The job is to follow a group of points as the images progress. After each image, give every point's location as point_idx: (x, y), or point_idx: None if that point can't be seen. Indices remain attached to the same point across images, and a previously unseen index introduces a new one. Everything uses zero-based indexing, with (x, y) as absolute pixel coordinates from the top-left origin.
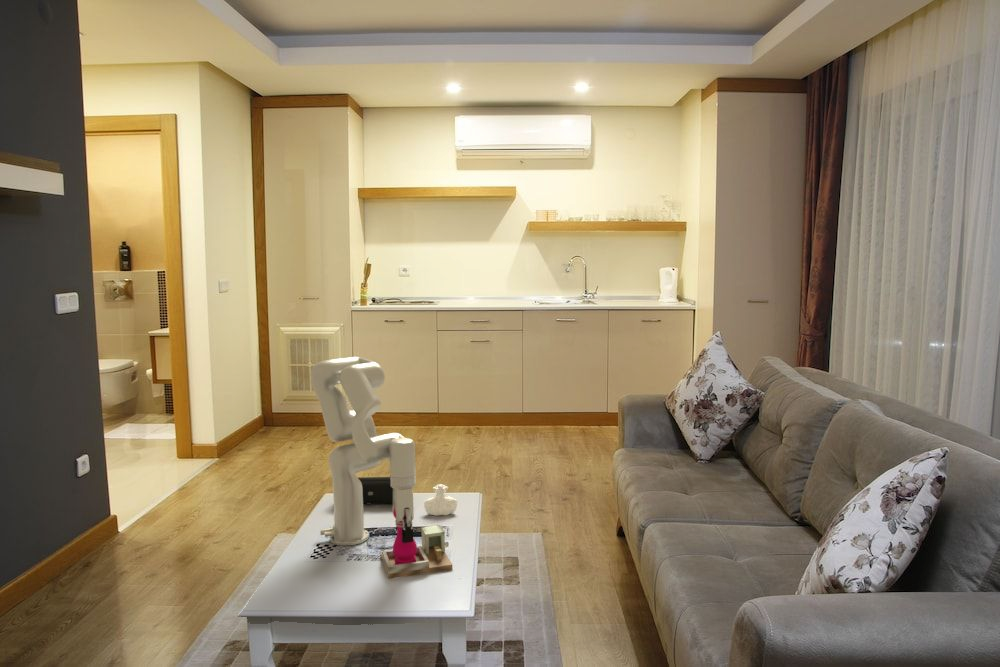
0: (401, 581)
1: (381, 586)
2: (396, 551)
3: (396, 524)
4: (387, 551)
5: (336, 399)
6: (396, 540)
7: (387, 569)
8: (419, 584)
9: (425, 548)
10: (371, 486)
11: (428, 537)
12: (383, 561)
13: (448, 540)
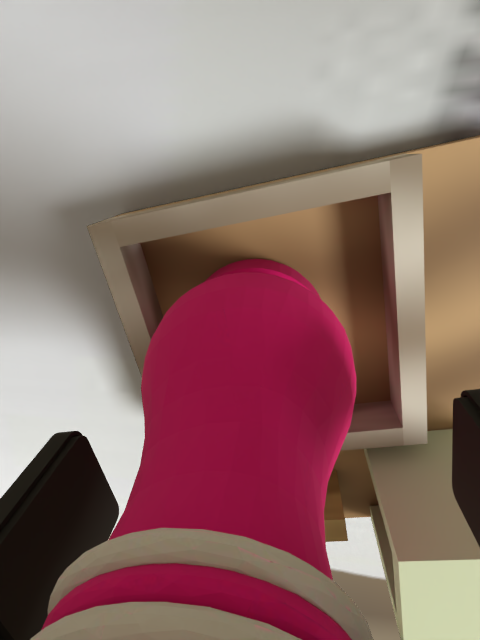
0: (95, 287)
1: (25, 171)
2: (166, 315)
3: (127, 562)
4: (398, 206)
5: None
6: (197, 361)
7: (148, 210)
8: (67, 370)
9: (379, 461)
10: None
11: (391, 548)
12: (339, 167)
13: None
